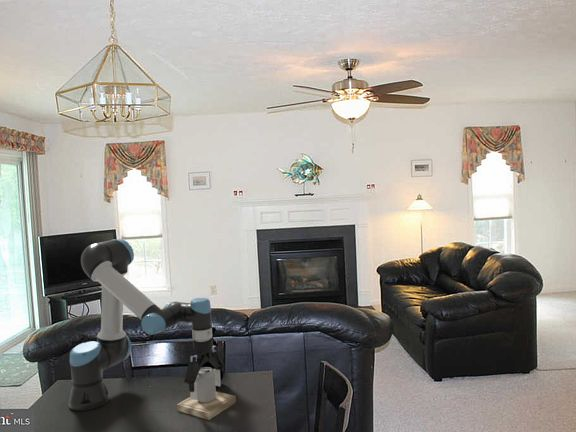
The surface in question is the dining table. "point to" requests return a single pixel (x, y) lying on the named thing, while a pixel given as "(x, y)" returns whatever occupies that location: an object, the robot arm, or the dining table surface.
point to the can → (206, 385)
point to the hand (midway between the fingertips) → (206, 392)
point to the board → (207, 406)
